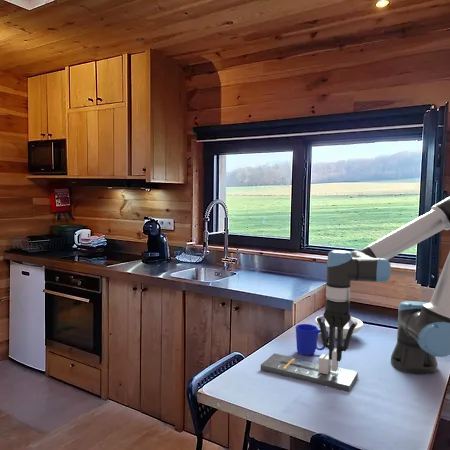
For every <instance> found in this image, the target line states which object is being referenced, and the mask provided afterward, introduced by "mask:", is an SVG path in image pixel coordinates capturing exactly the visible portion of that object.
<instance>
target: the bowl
mask: <svg viewBox="0 0 450 450" xmlns="http://www.w3.org/2000/svg"><path fill="white" fill-rule="evenodd" d="M322 315H323V314H322ZM322 315H318V316H317V317H315V323H316V326H317V328H318V329H320V326H319V323H318V322H317V318H318V317H319V316H322ZM350 317H351V320H353V321H354V322H357V326H356V327H355V328H354V330H353V333H352V335H353V334H357V333H358V332H360V331H361V329H362V328H363V325H364V323H363V321H362V320H360V319H359V318H356V317H353V316H350ZM325 325H326V330H327V331H328V337H329V331H330V330H329V324H328V322H327V321H326V319H325ZM349 328H350V327H349V322H348V323H347V324H346V325H345V326H344V328H343V340H345V339H346V336H347V332H348V330H349ZM335 340H337V327H336V328H335Z"/></svg>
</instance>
